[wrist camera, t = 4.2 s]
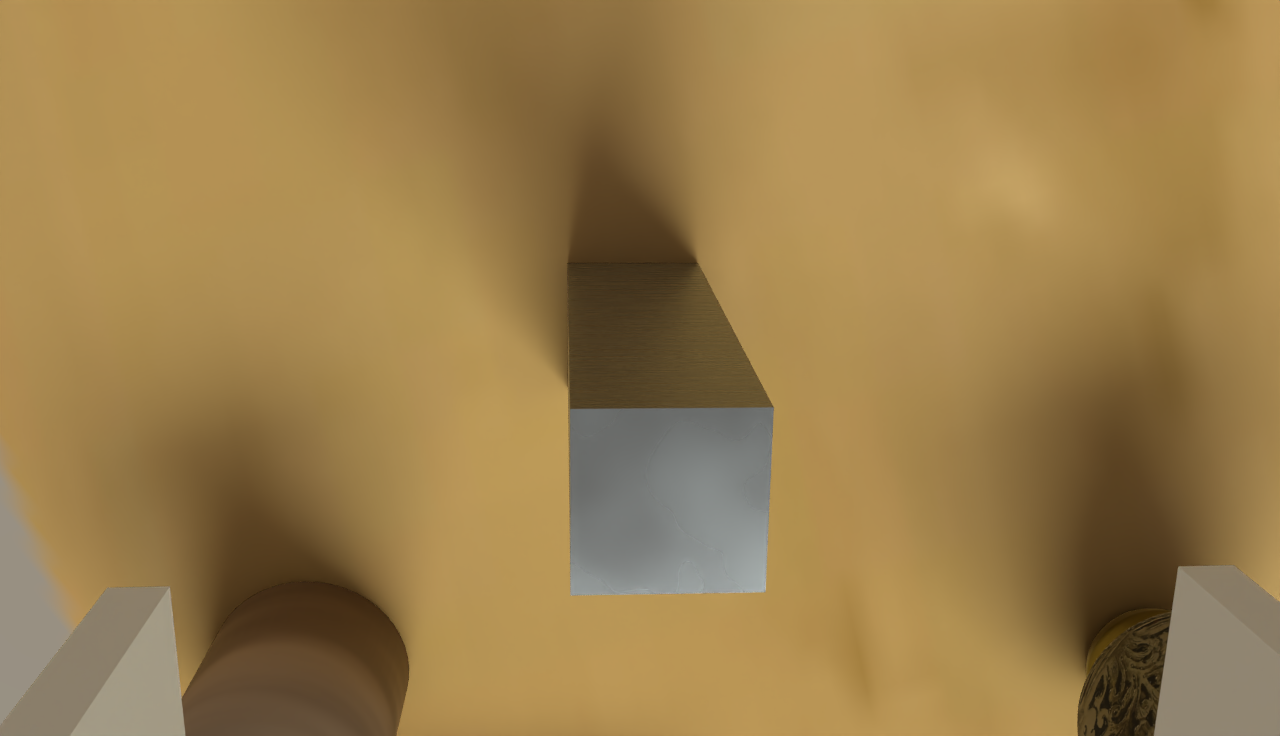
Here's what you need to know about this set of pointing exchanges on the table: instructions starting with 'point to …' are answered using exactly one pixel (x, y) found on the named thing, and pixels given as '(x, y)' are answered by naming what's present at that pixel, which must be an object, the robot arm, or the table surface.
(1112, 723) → the ornate candle holder
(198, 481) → the table surface
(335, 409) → the table surface
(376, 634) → the brown short cylinder
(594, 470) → the square bit
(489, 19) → the table surface
